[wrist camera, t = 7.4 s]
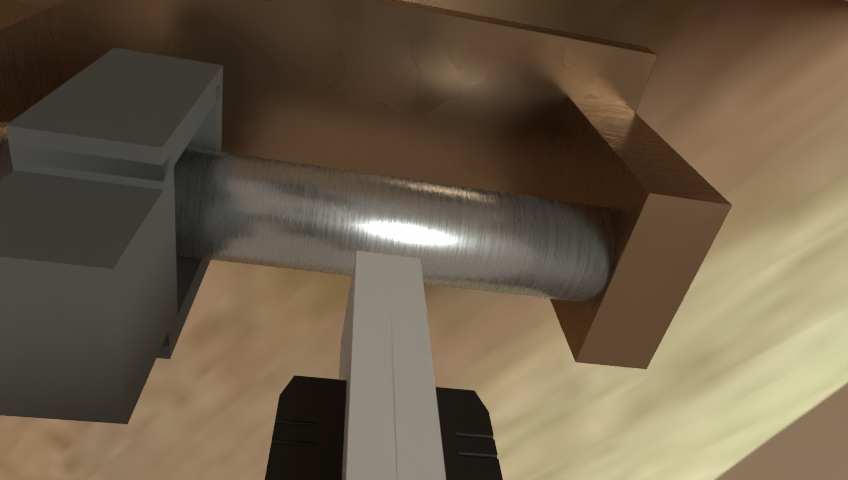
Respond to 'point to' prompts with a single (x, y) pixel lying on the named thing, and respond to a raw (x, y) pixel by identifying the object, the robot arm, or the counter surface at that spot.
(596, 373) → the counter surface
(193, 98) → the collar
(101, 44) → the pipe rig
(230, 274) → the counter surface
